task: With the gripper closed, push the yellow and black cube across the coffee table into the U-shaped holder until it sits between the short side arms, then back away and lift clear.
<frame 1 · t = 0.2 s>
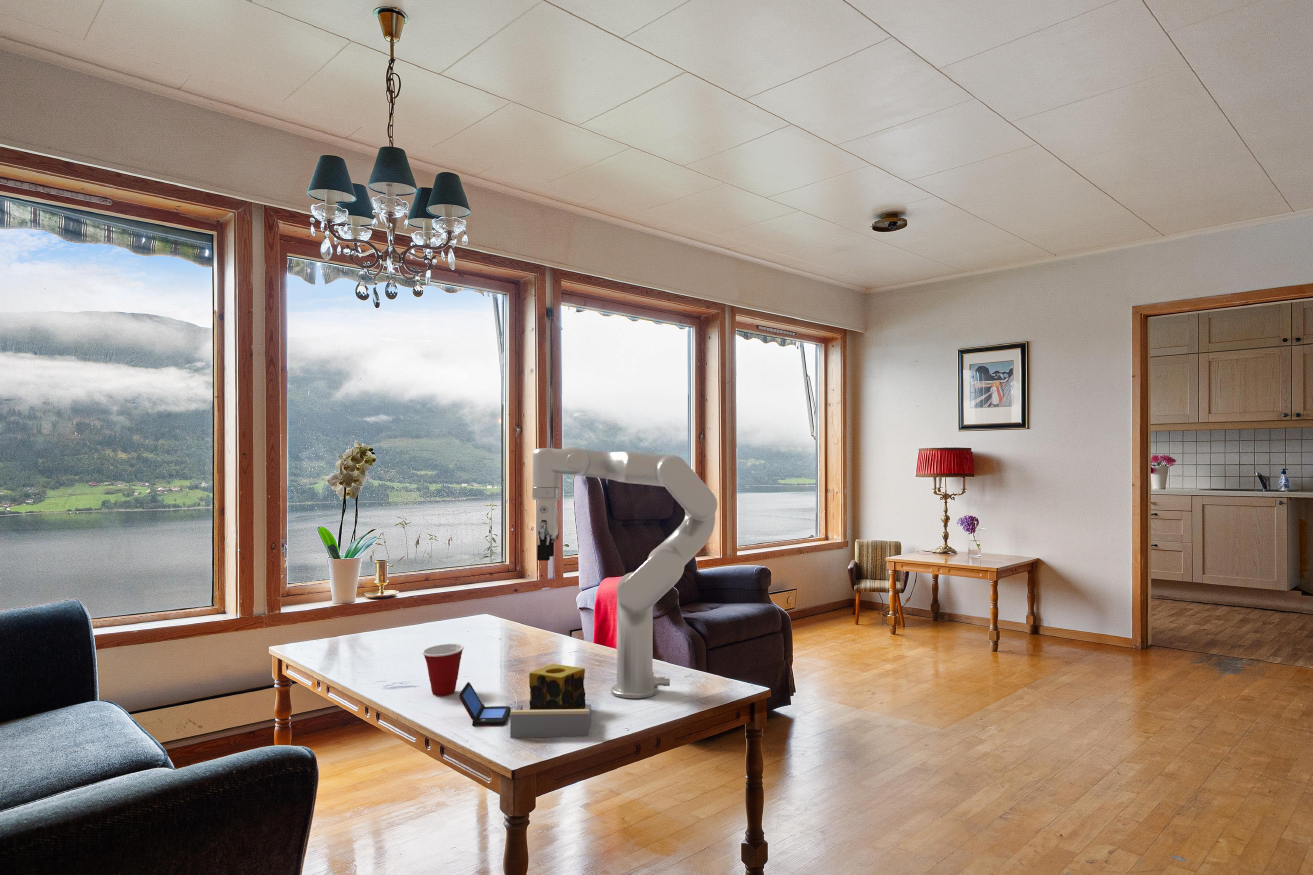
hand: (545, 558, 205), 36 cm above the table, tool pointing down, fingers open, 9 cm apart
plastic cup: (442, 694, 203), on the table
holder: (552, 726, 176), on the table
yellow and black cube: (557, 711, 188), on the table
handheld game console: (485, 719, 183), on the table
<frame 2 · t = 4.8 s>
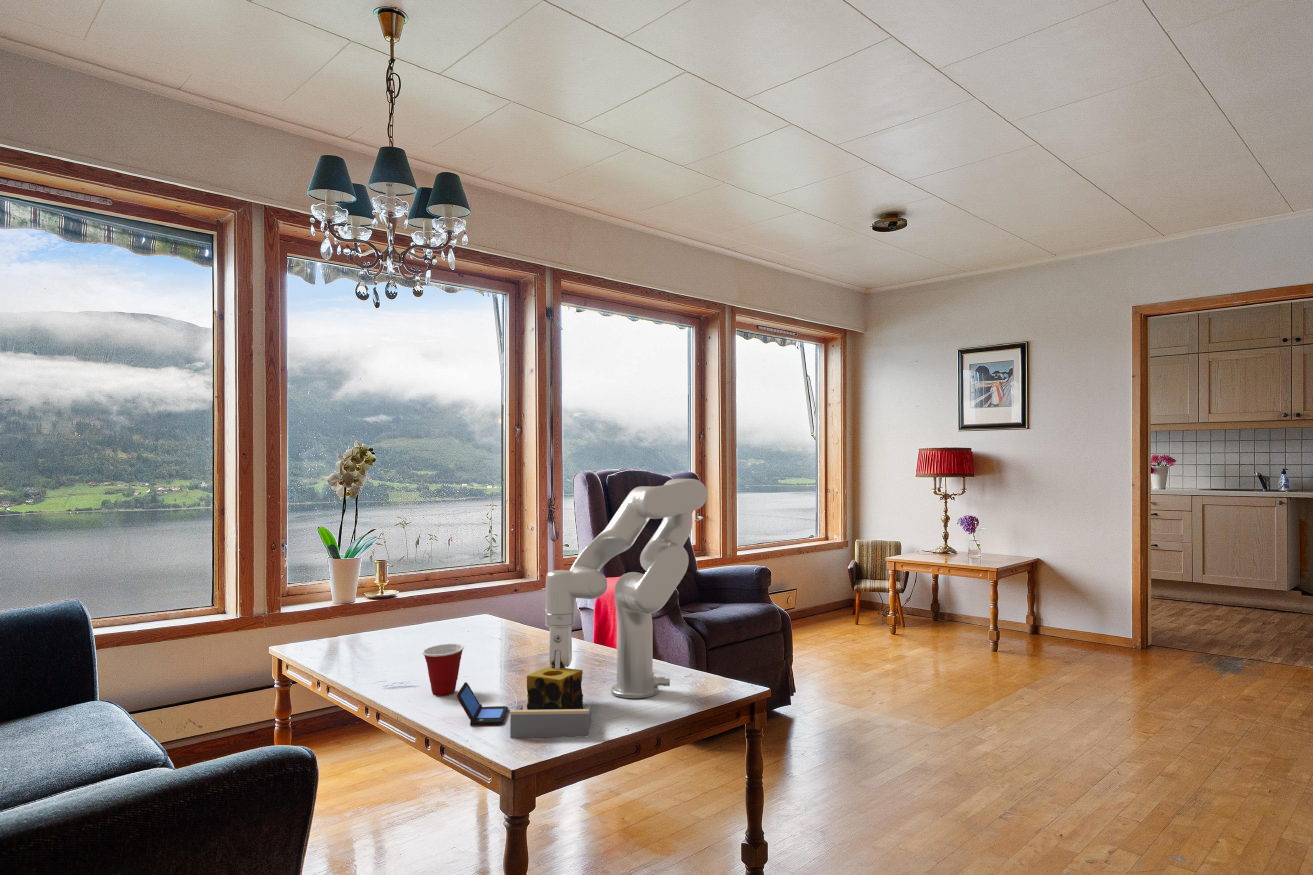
hand: (559, 692, 195), 3 cm above the table, tool pointing down, fingers closed
yellow and black cube: (555, 714, 186), on the table, touching gripper
everything else where it was.
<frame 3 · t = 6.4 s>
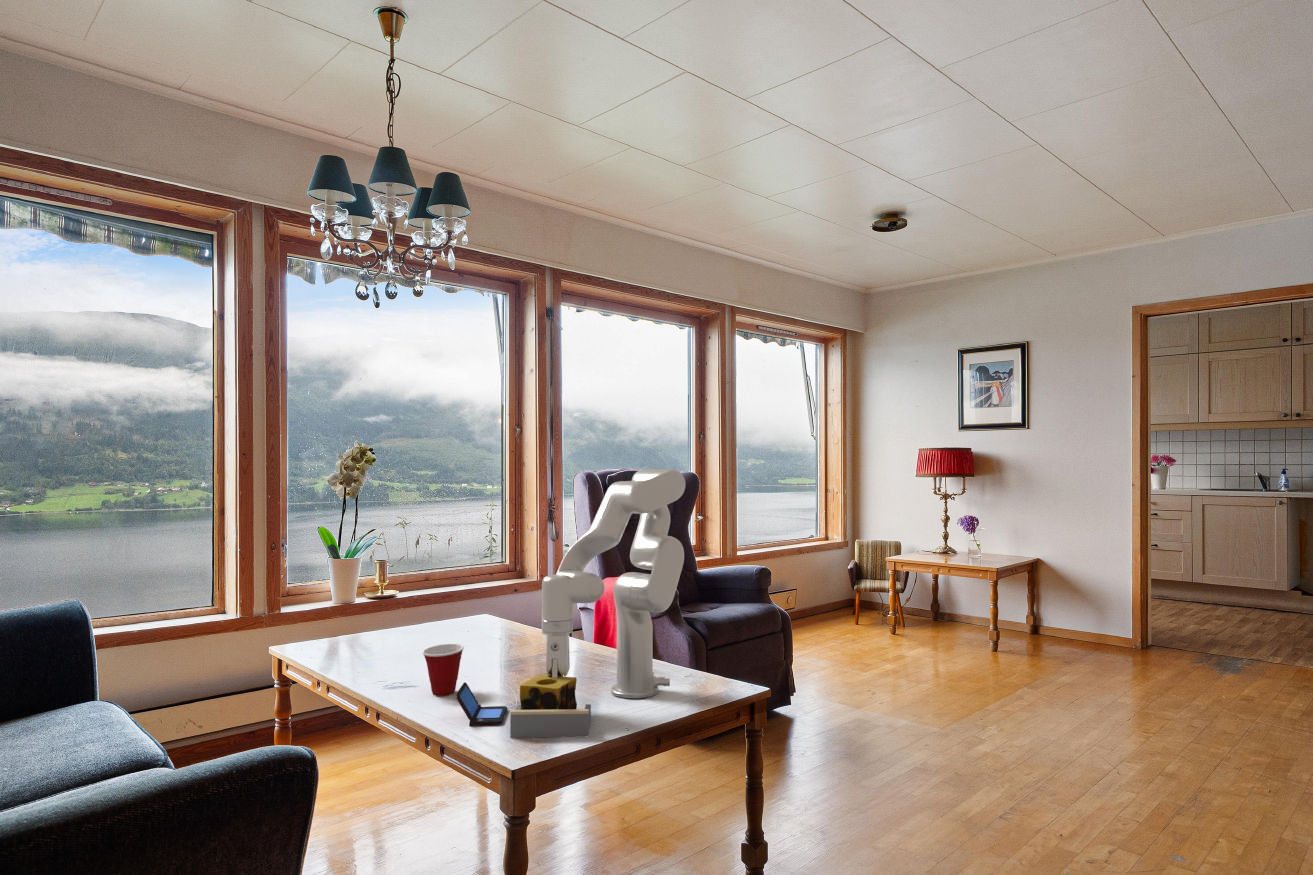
hand: (556, 702, 186), 3 cm above the table, tool pointing down, fingers closed
yellow and black cube: (549, 725, 178), on the table, touching gripper
everything else where it was.
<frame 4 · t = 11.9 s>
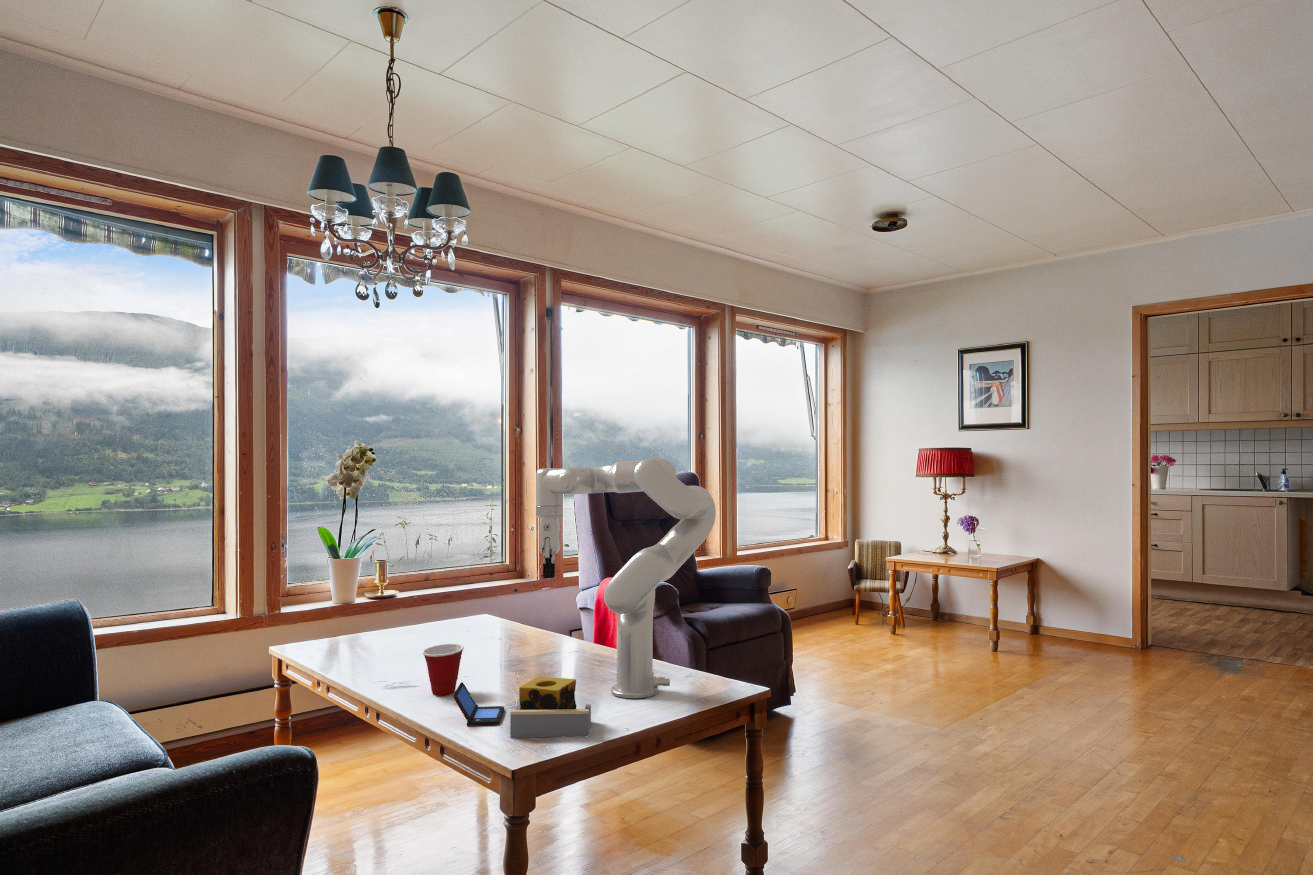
hand: (548, 577, 215), 29 cm above the table, tool pointing down, fingers closed
yellow and black cube: (548, 727, 177), on the table
at the end: yellow and black cube inside the target area (1.8 cm from its centre), on the table; yellow and black cube tilted 0° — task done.
